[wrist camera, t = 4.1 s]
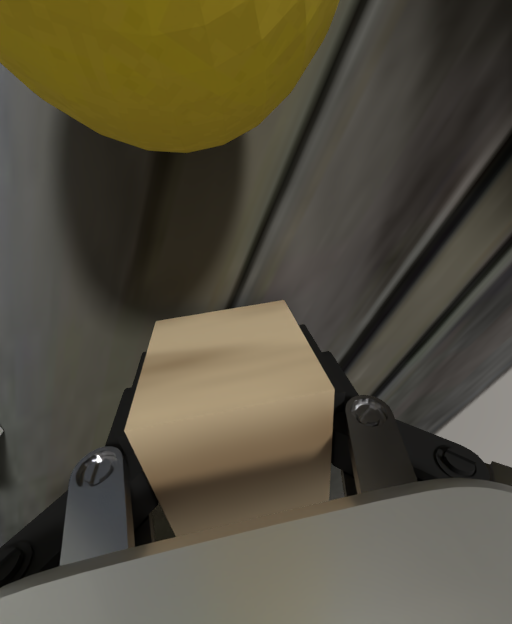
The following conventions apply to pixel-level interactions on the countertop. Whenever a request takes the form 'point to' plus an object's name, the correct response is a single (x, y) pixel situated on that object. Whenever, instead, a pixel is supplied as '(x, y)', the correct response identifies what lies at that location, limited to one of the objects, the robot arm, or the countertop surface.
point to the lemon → (163, 63)
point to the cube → (232, 417)
